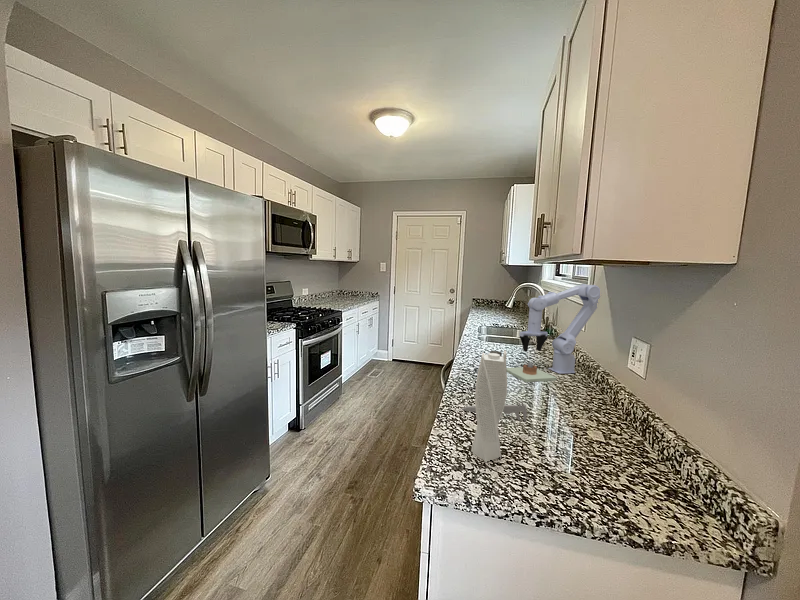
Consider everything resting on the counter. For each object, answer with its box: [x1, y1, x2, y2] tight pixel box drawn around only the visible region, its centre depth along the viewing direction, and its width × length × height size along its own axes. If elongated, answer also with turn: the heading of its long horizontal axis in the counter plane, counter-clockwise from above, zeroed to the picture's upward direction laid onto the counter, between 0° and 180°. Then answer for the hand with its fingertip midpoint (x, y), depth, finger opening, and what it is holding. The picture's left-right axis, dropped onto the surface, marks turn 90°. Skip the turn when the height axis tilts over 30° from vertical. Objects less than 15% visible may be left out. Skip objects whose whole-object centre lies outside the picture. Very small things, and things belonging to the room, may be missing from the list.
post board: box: [506, 362, 558, 383], centre depth 153 cm, size 16×16×6 cm
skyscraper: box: [470, 350, 508, 463], centre depth 84 cm, size 8×8×28 cm
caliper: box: [460, 401, 528, 422], centre depth 109 cm, size 20×1×6 cm, turn 71°
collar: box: [522, 364, 538, 375], centre depth 153 cm, size 6×6×3 cm
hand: (532, 350), depth 160 cm, fingers open, 7 cm apart
